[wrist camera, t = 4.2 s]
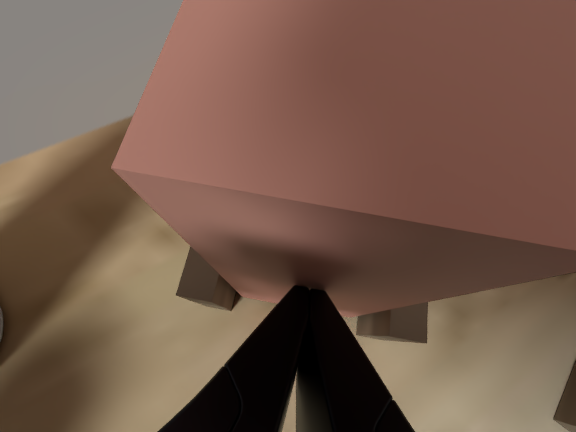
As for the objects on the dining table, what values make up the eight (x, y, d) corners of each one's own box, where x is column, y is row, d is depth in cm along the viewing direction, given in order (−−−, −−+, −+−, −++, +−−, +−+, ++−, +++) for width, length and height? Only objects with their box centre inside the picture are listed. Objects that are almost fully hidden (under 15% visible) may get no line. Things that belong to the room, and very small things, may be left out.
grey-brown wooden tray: (382, 340, 14) (426, 343, 10) (205, 306, 14) (175, 295, 10) (394, 167, 17) (432, 114, 13) (249, 142, 18) (239, 82, 13)
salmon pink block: (350, 317, 14) (632, 260, 3) (242, 296, 14) (110, 167, 3) (359, 234, 16) (572, -23, 4) (260, 216, 16) (216, -76, 4)
